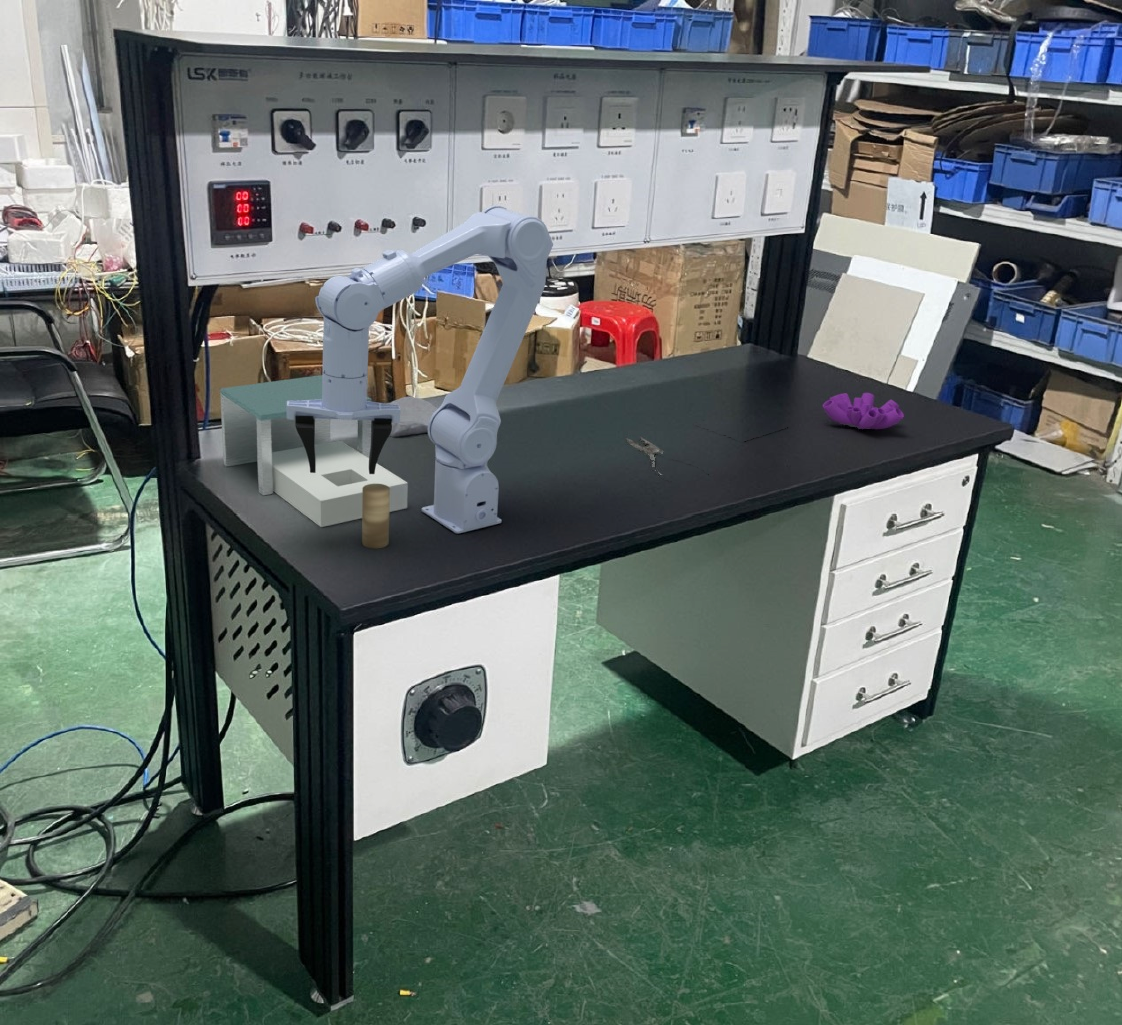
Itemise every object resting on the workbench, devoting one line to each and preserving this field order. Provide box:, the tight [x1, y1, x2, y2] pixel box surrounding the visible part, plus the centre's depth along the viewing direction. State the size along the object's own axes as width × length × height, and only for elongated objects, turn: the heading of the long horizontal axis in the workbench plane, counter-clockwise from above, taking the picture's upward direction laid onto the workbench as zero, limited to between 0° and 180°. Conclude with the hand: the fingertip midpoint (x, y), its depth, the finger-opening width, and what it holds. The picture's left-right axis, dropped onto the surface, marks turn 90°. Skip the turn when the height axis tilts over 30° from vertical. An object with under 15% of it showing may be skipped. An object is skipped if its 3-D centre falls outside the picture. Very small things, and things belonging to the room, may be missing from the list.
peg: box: [361, 484, 390, 549], centre depth 149 cm, size 4×4×8 cm
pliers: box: [625, 436, 665, 475], centre depth 189 cm, size 10×1×20 cm
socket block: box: [257, 440, 409, 528], centre depth 164 cm, size 20×14×4 cm
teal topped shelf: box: [219, 374, 372, 496], centre depth 170 cm, size 14×18×12 cm
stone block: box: [389, 396, 439, 438], centre depth 195 cm, size 12×5×10 cm
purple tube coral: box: [822, 392, 905, 430], centre depth 214 cm, size 11×15×10 cm
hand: (342, 470), depth 147 cm, fingers open, 7 cm apart
